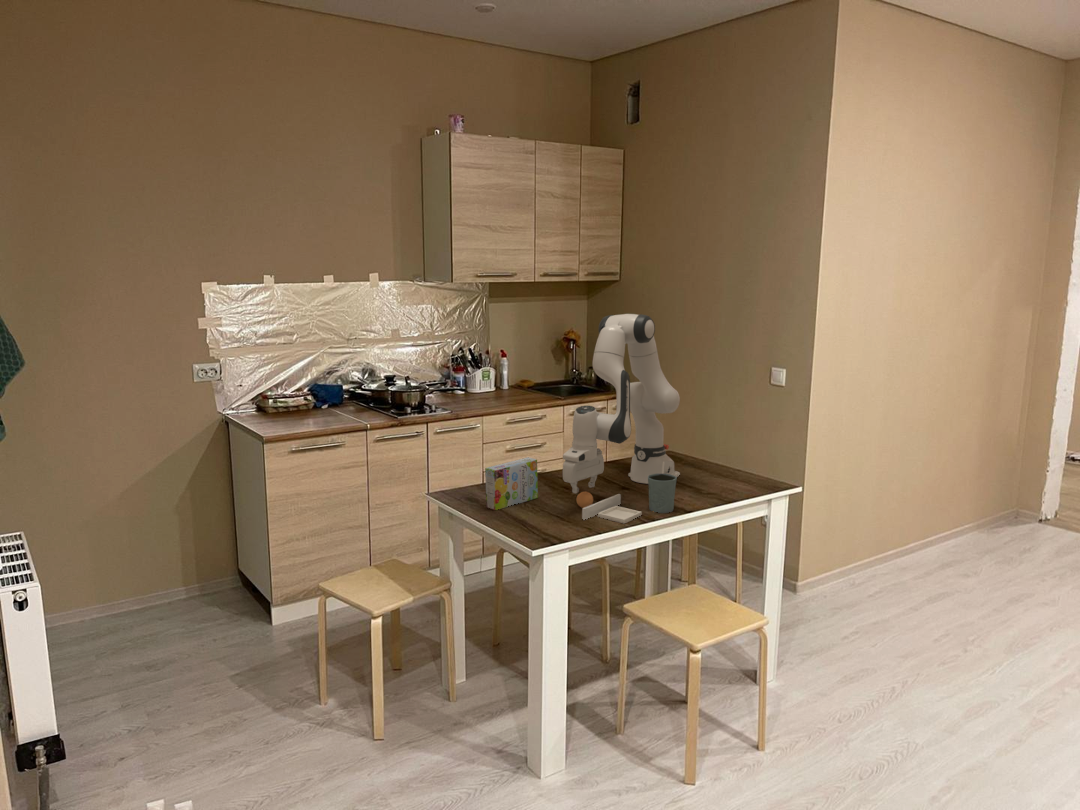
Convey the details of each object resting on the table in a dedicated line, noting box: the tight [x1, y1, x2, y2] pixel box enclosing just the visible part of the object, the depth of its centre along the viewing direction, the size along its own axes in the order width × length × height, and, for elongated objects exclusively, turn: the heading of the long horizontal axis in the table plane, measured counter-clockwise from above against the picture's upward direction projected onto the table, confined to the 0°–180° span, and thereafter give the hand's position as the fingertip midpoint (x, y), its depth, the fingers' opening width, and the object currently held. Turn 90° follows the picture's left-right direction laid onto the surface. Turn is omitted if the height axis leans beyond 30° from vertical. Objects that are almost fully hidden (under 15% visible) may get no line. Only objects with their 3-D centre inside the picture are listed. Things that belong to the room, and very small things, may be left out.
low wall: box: [581, 493, 622, 521], centre depth 284 cm, size 22×1×4 cm, turn 141°
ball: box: [575, 490, 594, 509], centre depth 289 cm, size 6×6×6 cm
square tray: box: [597, 505, 643, 525], centre depth 280 cm, size 11×11×1 cm
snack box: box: [484, 457, 539, 511], centre depth 294 cm, size 21×6×15 cm, turn 134°
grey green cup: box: [647, 474, 678, 514], centre depth 286 cm, size 10×10×12 cm
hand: (583, 490), depth 288 cm, fingers open, 8 cm apart
